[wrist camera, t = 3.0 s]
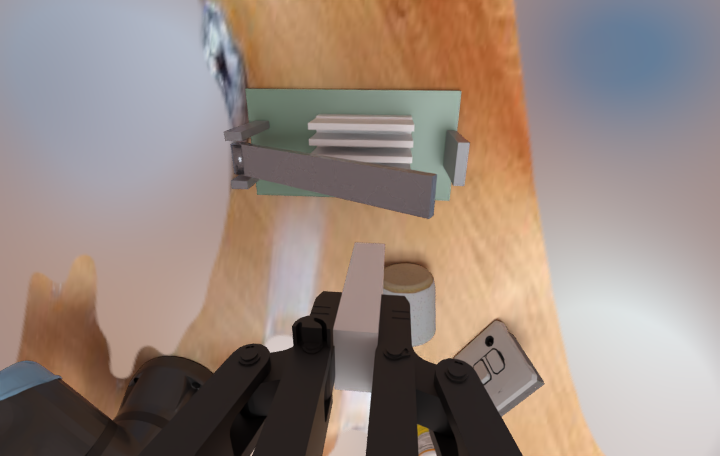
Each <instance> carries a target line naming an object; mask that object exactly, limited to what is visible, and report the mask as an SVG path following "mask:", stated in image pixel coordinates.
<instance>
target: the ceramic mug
mask: <svg viewBox="0 0 720 456" xmlns="http://www.w3.org/2000/svg"><path fill="white" fill-rule="evenodd" d="M383 294H385V295H400V296H405V297H406V298H407V300H408V301H409V303H410V313H411V336H412V347H414V346H419V345H422V344H424V343H426V342H428V341H429V340H430V339H431V338H432V337H433V336H434V334H435V330H436V324H435V318H436V313H435V283H434V278H433V276H432V274H431V272H429V271H428V270H427V269H426V268H424V267H422V266H419V265H416V264H409V263H401V264H394V265H391V266H388V267H386V268H385V269H384V280H383Z"/></svg>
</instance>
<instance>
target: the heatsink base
mask: <svg viewBox="0 0 720 456" xmlns="http://www.w3.org/2000/svg"><path fill="white" fill-rule="evenodd" d="M245 90H246V99H247V108H248V117H249V123H247V124H244V125H241V126H238V127H236V128H233V129H230V130H227V131H225V132H224V136H225V141H243V140H245V139H247V138H250V137H251V143H252V144H256V145H263V146H269V147H275V148H281V149H287V150H293V151H299V152H306V153H312V154H318V155H324V156H330V157H336V158H342V159H348V160H355V161H361V162H367V163H373V164H379V165H385V166H391V167H398V168H404V169H410V170H416V171H422V172H428V173H434V174H437V183H436V194H435V200H446V201H449V200H450V191H451V182H452V184H453V186H464V185H465V177H466V169H467V161H468V153H469V145H470V143H469V142H468V141H467V140H466V139H465V138H464V137H463V136H462V135H461V134H459V133H458V132H457V127H458V118H459V109H460V99H461V91H458V90H355V89H252V88H248V89H245ZM255 183H256V188H257V195H284V196H316V197H333V196H329V195H325V194H320V193H316V192H312V191H308V190H303V189H299V188H295V187H291V186H286V185H282V184H278V183H274V182H269V181H265V180H261V179H257V178H252V177H248V176H244V175H239V176H237V177H236V178H234V179H233V180H231V186H232V189H249V188H250V187H251V186H253V185H254V184H255Z"/></svg>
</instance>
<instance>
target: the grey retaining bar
mask: <svg viewBox="0 0 720 456" xmlns="http://www.w3.org/2000/svg"><path fill="white" fill-rule="evenodd" d="M231 152H232V159H233V166H234V174H237V175H244V176H248V177H252V178H257V179H261V180H265V181H269V182H274V183H278V184H282V185H286V186H291V187H295V188H299V189H303V190H308V191H312V192H316V193H320V194H325V195H329V196H333V197H337V198H342V199H346V200H350V201H354V202H359V203H363V204H367V205H371V206H376V207H380V208H384V209H388V210H393V211H397V212H401V213H405V214H410V215H414V216H418V217H422V218H427V219H429V218H431V217H432V216H433V215H434V205H435V194H436V183H437V174H434V173H428V172H422V171H416V170H410V169H404V168H398V167H391V166H385V165H379V164H373V163H367V162H361V161H355V160H348V159H342V158H336V157H330V156H324V155H318V154H312V153H306V152H299V151H293V150H287V149H281V148H275V147H269V146H263V145H256V144H250V143H244V142H239V143H232V144H231Z"/></svg>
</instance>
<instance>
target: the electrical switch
mask: <svg viewBox="0 0 720 456" xmlns="http://www.w3.org/2000/svg"><path fill="white" fill-rule="evenodd" d="M507 330H508V329H507V328H506V326H505V325H504V323H502V322H500V321H494V322H493V323H492V324H491V325H489V326H488V327H487V328H486V329H485V330H484V331H483V332H482V333H481V334H480V335H478V336H477V337H476V338H475V339H474V340H473V341H472V342H471V343H470V344H469V345H467V346H466V347H465V348H464V349H463V350H462V351H461V352H460V353H459V354H457V355H456V356H455V358H454V359H459V360H462V361H465V362H466V363H468V364H469V365H471V366H472V367H473V369H474V370H475V371H476V372H477V374H478V376H479V378H480V380H481V381H482V383H483V385H484V387H485V389H486V390H487V392H488V394H489V396H490V398H491V399H492V401H493V403H494V405H495V407H496V408H497V410H498V412H499V414H500V416H501V417H502V416H503V415H504V414H506V413H507V412H508V411H510V410H511V409H512V408H514V407H515V406H516V405H518V404H519V403H520V402H521V401H523V400H524V399H525V398H527V397H528V396H529V395H531V394H532V393H533V392H535V391H536V390H537V389H539V388H540V387H541V386H543V385H544V383H543V382H544V381H543V380H542V378H541V377H540V375H539V374H538V372H537V370H536V369H535V367H534V366H533V364H532V363H531V361H530V360H529V358H528V357H527V355H526V354H525V352H524V351H523V349H522V348H521V346H520V344H519V343H518V341H517V340H516V338H515V337H514V335H513V334H511V333H509V332H508V331H507ZM540 381H541V382H540ZM535 387H536V388H535Z"/></svg>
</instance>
